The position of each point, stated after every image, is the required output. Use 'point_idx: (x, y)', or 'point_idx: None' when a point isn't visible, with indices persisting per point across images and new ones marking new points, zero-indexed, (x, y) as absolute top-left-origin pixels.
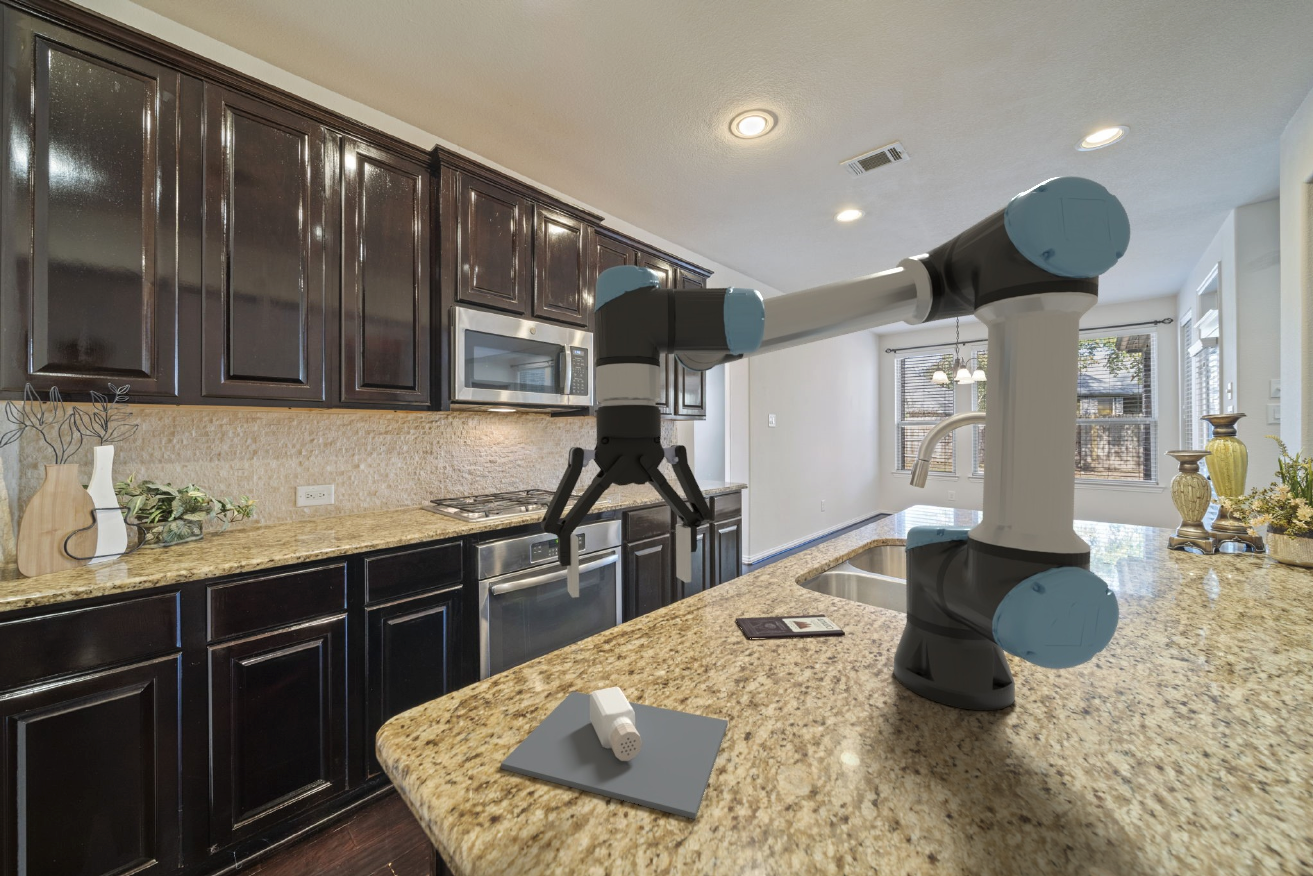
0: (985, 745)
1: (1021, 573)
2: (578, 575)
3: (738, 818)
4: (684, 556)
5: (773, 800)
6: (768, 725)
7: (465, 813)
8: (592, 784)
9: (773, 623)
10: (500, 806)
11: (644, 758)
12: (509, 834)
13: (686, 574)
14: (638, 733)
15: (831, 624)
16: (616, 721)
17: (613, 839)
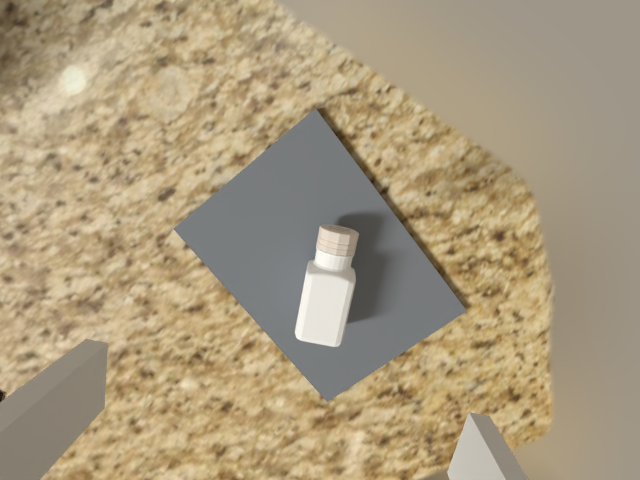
0: None
1: None
2: (502, 473)
3: (271, 82)
4: (30, 414)
5: (216, 80)
6: (125, 196)
7: (521, 261)
8: (393, 217)
9: None
10: (487, 250)
11: (315, 223)
12: (495, 206)
13: (84, 358)
14: (321, 233)
15: None
16: (339, 267)
17: (407, 137)
